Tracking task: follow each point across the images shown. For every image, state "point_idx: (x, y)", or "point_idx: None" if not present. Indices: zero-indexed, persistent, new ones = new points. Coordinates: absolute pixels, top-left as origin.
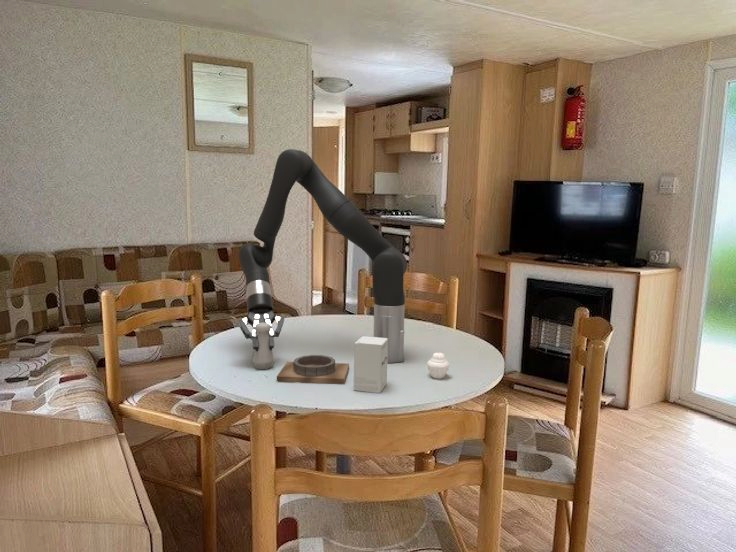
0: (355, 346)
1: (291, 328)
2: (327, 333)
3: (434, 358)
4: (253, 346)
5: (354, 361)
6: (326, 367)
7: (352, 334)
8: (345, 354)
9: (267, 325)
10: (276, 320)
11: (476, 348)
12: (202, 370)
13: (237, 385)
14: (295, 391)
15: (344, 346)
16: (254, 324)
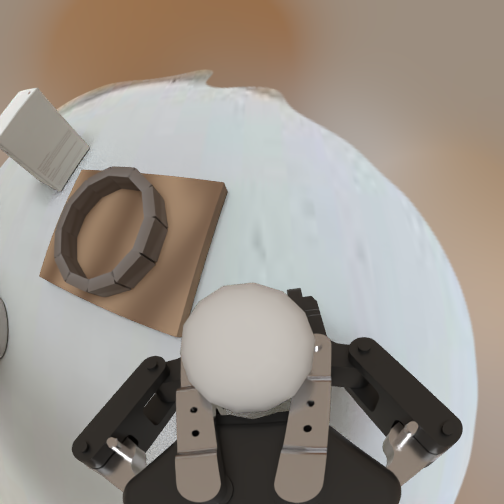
0: (40, 91)
1: None
2: None
3: None
4: (313, 299)
5: (58, 112)
6: (90, 179)
7: None
8: (40, 398)
9: (202, 303)
10: (135, 465)
11: None
12: (458, 321)
13: (339, 177)
14: (190, 134)
15: (47, 459)
16: (323, 400)
